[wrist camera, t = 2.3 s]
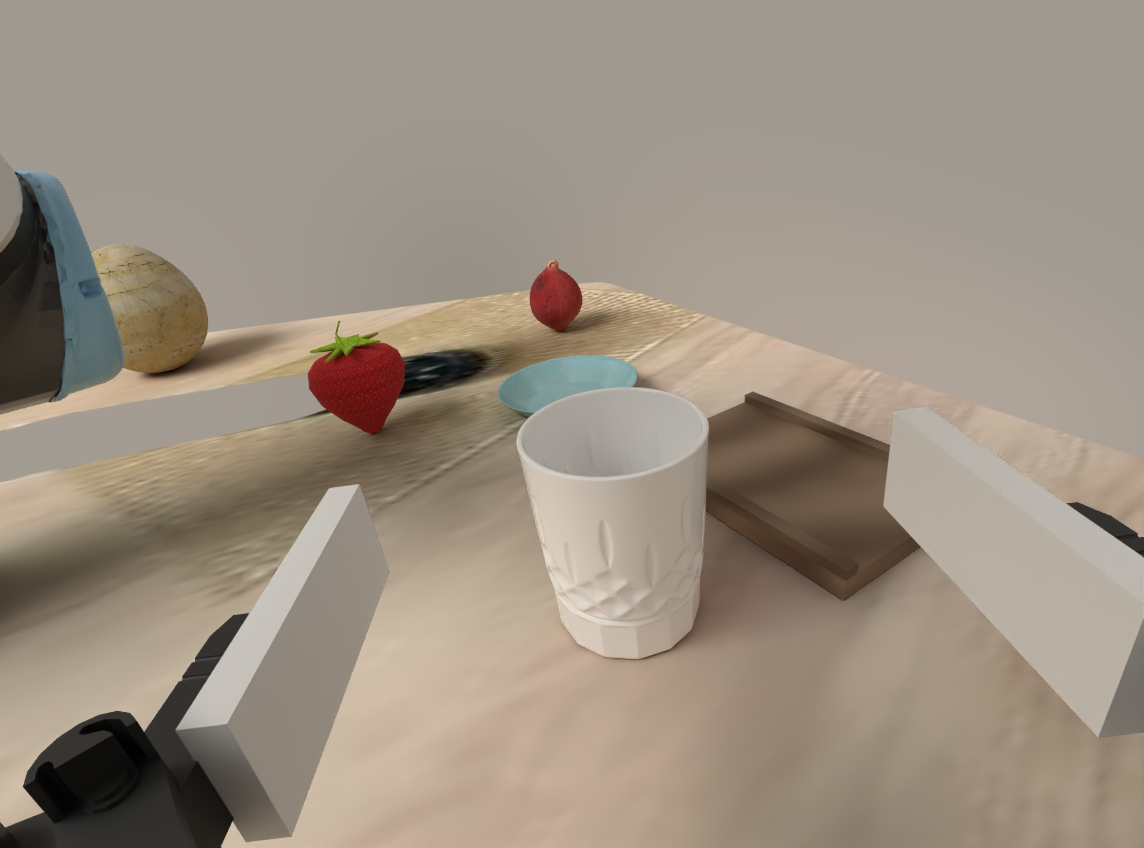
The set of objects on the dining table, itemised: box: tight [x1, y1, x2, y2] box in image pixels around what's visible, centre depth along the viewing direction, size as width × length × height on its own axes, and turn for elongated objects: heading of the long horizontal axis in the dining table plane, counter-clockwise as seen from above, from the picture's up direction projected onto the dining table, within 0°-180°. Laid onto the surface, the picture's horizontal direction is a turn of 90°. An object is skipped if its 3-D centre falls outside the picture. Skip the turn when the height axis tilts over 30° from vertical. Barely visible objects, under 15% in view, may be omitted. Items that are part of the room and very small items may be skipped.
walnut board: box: [706, 392, 921, 601], centre depth 36 cm, size 16×11×2 cm
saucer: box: [498, 355, 638, 417], centre depth 50 cm, size 12×12×2 cm
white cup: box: [516, 387, 709, 659], centre depth 27 cm, size 8×8×10 cm
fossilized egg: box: [92, 244, 208, 373], centre depth 69 cm, size 13×13×15 cm
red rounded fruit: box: [530, 260, 582, 331], centre depth 65 cm, size 6×6×8 cm
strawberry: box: [308, 321, 405, 433], centre depth 47 cm, size 6×8×10 cm
